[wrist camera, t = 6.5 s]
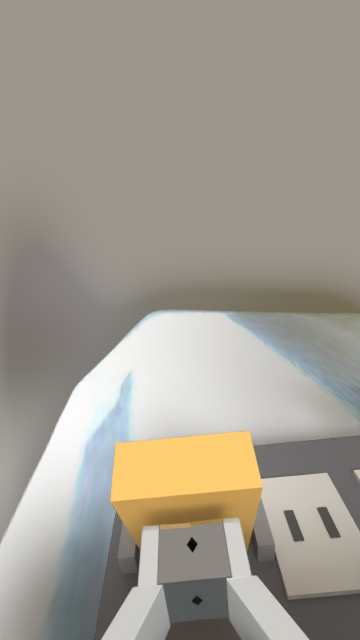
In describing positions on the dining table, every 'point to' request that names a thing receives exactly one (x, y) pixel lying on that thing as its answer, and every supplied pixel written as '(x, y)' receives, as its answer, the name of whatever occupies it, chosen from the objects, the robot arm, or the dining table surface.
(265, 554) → the power box
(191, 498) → the switch
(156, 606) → the robot arm
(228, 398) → the dining table surface
